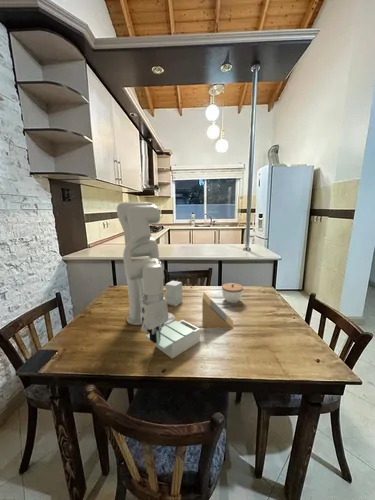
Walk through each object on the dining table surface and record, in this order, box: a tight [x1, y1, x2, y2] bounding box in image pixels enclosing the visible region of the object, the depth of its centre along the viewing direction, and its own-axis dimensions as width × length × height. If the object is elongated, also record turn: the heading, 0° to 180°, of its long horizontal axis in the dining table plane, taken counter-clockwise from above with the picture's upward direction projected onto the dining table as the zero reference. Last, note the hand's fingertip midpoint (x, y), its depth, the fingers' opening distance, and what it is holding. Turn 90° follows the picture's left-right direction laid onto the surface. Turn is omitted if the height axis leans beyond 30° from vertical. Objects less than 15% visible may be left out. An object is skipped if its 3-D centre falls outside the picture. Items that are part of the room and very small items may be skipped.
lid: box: [145, 320, 195, 350], centre depth 95 cm, size 12×17×6 cm
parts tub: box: [154, 319, 201, 359], centre depth 99 cm, size 11×16×6 cm
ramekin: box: [162, 312, 176, 327], centre depth 112 cm, size 11×11×5 cm
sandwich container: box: [201, 292, 235, 330], centre depth 114 cm, size 9×15×15 cm, turn 83°
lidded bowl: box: [221, 282, 244, 304], centre depth 141 cm, size 13×13×11 cm
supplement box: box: [165, 280, 183, 307], centre depth 138 cm, size 7×7×13 cm
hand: (155, 340), depth 90 cm, fingers closed
